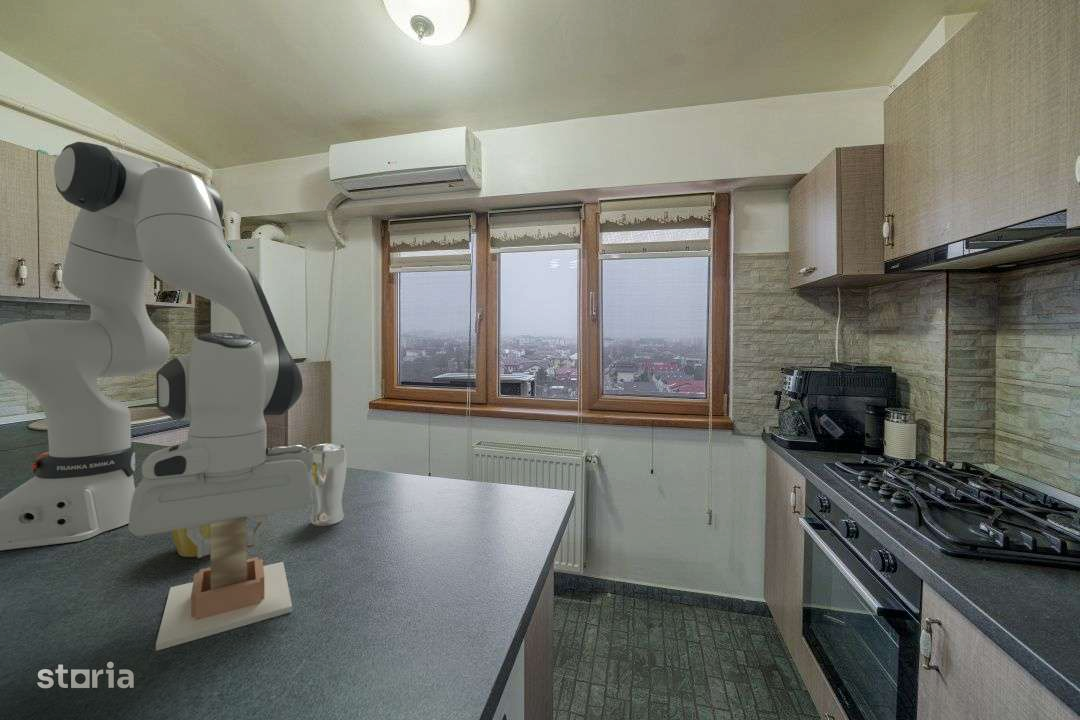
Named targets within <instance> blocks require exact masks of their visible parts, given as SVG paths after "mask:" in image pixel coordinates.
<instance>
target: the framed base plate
mask: <svg viewBox="0 0 1080 720" xmlns="http://www.w3.org/2000/svg"><path fill="white" fill-rule="evenodd" d="M285 569H286V568H285V564H284V561H280V562H276V563H271V564H266V565H264V560H263V558H260V559H259V556H257V557H251V558H247V582H242V583H238V584H234V585H230V586H226V587H222V588H217V589H213V590H211V566H210V567H205V568H200V569H199V571H198V573H194V576H193V581H192V582H187V583H183V584H178V585H176V586H171V587H170V588H169V591H168V596H167V598H166V599H167V600H166V603H165V607H164V612H163V615H162V619H161V622H160V623H161V624H160V626H159V631H158V634H157V638H156V643H155V651H161V650H164V649H167V648H170V647H171V648H172V647H174V646H178V645H182V644H185V643H188V642H192V641H195V640H200V639H203V638H205V637H206V638H207V637H210V636H213V635H216V634H219V633H222V632H224V633H225V632H227V631H231V630H233V629H236V628H242V627H245V626H247V625H251V624H255V623H259V622H261V621H265V620H268V619H272V618H275V617H279V616H282V615H286V614H289V613H293V604H292V600H291V594H290V589H289V584H288V579H287V573H286V570H285Z"/></svg>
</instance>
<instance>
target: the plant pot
mask: <svg viewBox="0 0 1080 720" xmlns="http://www.w3.org/2000/svg"><path fill="white" fill-rule="evenodd" d="M171 533H172V537H173V541H174V544H175V547H176V551H177V554H178V555H180V557H183V558H198V547H197V546H196V545H195V544H194V543H193V542H192V541H191V540H190V539H189V538H188V536H187V528H184V529H178V530H172V531H171ZM200 535H201V536H202V537H203V538H204V540H205V539H210V524H207V525H201V530H200Z"/></svg>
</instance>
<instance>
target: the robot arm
mask: <svg viewBox="0 0 1080 720" xmlns="http://www.w3.org/2000/svg"><path fill="white" fill-rule="evenodd" d="M53 177H54V180H55V187H56V189H57V190H56V191H57V192H59V194H60V195H61V196H62V198H63V199H64V200H65V201H66V202H67V203H70V204H71V205H73V206H76V207H78V208H80V209H79V212H78V213H77V216H76V217H75V218H76V219H75V221H74V223H73V227H72V230H71V232H70V233H71V234H70V237H69V241H68V247H67V249H66V250H67V251H66V255H65V260H64V264H63V270H62V274H61V281H62V284H63V285H64V287H65V289H66V291H68V292H69V294H71V295H72V296H73V297H75V298H77V299H79V300H81V301H83V302H84V303H86V304H88V305H89V308H90V317H89V319H88V320H82V319H81V320H79V319H53V318H51V319H50V318H41V319H40V318H39V319H29V320H22V321H20V320H19V321H14V322H7V323H4V324H2V325H0V374H1V375H2V376H4V377H6V378H8V379H10V380H12V381H14V382H15V383H18V384H19V385H21V386H23V387H24V388H25V389H26V390H28V391H29V393H30V394H32V395H33V396H34V397H35V399H36V400H37V401H38V403H39V404H40V406H41V407H42V411H43V412H44V416H45V420H46V427H47V428H46V430H47V439H48V451H46V452H43V453H40V454H39V455H37V457H36V459H35V460H34V461H33V462H32V464H31V468H30V469H31V472H32V473H33V475H34V476H33V477H32V478H30V479H28V480H27V481H25V482H24V483H22V484H21V485H19V486H18V487H16V488H15V489H13V490H12V491H10V492H8V493H7V494H5V495H4V496H3V497H1V498H0V551H7V550H14V549H24V548H33V547H40V546H48V545H57V544H66V543H73V542H80V541H85V540H88V539H91V538H93V537H95V536H97V535H99V534H102V533H105V532H107V531H110V530H113V529H117V528H120V527H122V526H125V525H127V524H128V531H129V532H130V533H132V534H133V535H134V536H137V537H143V536H147V535H154V534H159V533H166V532H172V530H178V529H184V528H187V536H188V538H189V539H190V540H191V541H192V542H193V543H194V544H195V545H196V546H197V547H198V557H197V559H200V558H204V557H209V556H211V542H210V539H205V540H204V538H203V537H202V536H201V535H200V530H201V525H207V524H210V523H214V522H220V521H225V520H231V519H237V518H243V517H247V519H248V518H252V517H255V520H256V525H255V526H254V528H253V530H249V531H247V549H249V548H253V547H258V546H259V545H260V534H261V533H262V531H263V530H264V528H265V527H266V525H267V523H268V522H269V515H270V514H276V513H281V512H282V513H284V512H288V511H294V510H299V509H300V510H301V509H305V508H306V507H308V505H309V504H310V503H311V501H312V500H313V499H312V494H311V484H310V478H309V472H310V471H311V469H312V467H313V453H312V451H311V450H310V448H308V447H305V446H302V444H292V445H289V446H272V447H270V446H269V447H268V446H267V444H268V443H267V439H268V435H267V429H268V428H267V426H268V425H267V421H266V419H265V416H266V417H267V416H282V415H283V414H285V413H286V412H288V411H289V410H290V409H291V408H292V407H293V406H294V405H295V404H296V403H297V402H298V400H299V399H300V397H301V396H302V393H303V385H304V384H303V378H302V374H301V371H300V369H299V367H298V365H297V363H296V361H295V360H294V358H293V356H292V355H291V354H290V352H289V351H288V347H287V346H286V344H285V341H284V339H283V337H282V333H281V332H280V329H279V327H278V324H277V320H276V319H275V317H274V315H273V311H272V310H271V306H270V305H269V302H268V299H267V298H266V294H265V292H264V290H263V288H262V286H261V284H260V282H259V280H258V277H257V276H256V274H255V273H254V272H253V271H252V270H251V269H249V268H248V267H247V266H245V265H243V264H242V263H241V262H240V261H239V259H237V257H236V256H235V255H234V254H233V252H232V250H231V249H230V247H229V246H228V244H227V242H226V239H225V235H224V231H223V225H222V220H223V218H224V202H223V199H222V196H221V195H220V192H218V191H217V189H216V188H214V187H212V185H210V184H208V183H205V182H204V181H203V180H202V179H201V178H199V177H198V176H196V175H195V174H194V173H192V172H189V171H187V170H185V169H181V168H179V167H178V168H177V167H171V166H165V165H164V164H160V163H157V162H155V161H153V162H152V161H149V160H146V159H143V158H139V157H137V156H133V155H130V154H127V153H122V152H119V151H115V150H111V149H109V148H108V147H106V146H104V145H100V144H97V143H91V142H85V141H76V142H73V143H70V144H67V145H66V146H65V147H63V149H62V150H61V152H60V153H59V155H58V156H57V157H56V159H55V163H54V165H53ZM150 272H151V273H152V274H153V275H154V276H155V277H157V278H158V279H159V280H161V281H162V282H164V283H165V284H168V285H169V286H171V287H174V288H175V289H178V290H181V291H183V292H186V293H190V294H192V295H196V296H199V297H202V298H204V299H207V300H210V301H211V302H214V303H216V304H219V305H220V306H222V307H224V308H225V309H227V310H229V311H230V312H231V313H232V314H233V315H234V316H235V317H236V318H237V321H238V322H239V325H240V327H241V329H242V332H243V334H237V333H233V332H232V333H231V332H208V333H202V334H199V335H197V336H195V337H194V338H193V340H192V341H191V344H190V345H191V347H190V352H188V353H187V354H184V355H182V356H179V357H174V358H172V359H170V360H169V361H168V362H167V360H168V358H169V355H170V342H169V341H168V338H167V336H166V335H165V334H164V332H163V331H162V330H161V329H159V328H157V326H156V325H154V323H153V322H152V320H151V318H150V316H149V315H148V311H147V307H146V290H147V284H148V278H149V273H150ZM156 370H157V372H156V373H155V374H156V375H155V376H156V407H157V409H158V410H159V411H161V412H163V413H164V415H166V416H168V417H171V418H172V419H175V420H176V421H185V422H190V424H189V426H188V430H187V440H186V441H182V442H179V443H176V444H174V445H170V446H167V447H164V448H160V449H157V450H155V451H153V452H151V453H150V454H149V455H148V456H146V458H144V460H143V462H142V465H141V466H142V467H141V474H142V479H141V480H140V481H139V483H138V484H137V486H135V480H134V474H135V470H136V452H135V447H134V445H132V424H131V423H132V421H131V419H132V417H131V416H132V415H131V411H130V409H129V407H128V406H127V404H125V403H123V402H122V401H121V400H118V399H115V398H113V397H109V396H106V395H105V394H103V392H102V391H101V389H100V386H99V384H98V379H102V378H115V377H116V378H117V377H129V376H131V377H132V376H137V375H141V374H145V373H150V372H154V371H156Z"/></svg>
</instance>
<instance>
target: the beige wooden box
mask: <svg viewBox="0 0 1080 720" xmlns="http://www.w3.org/2000/svg"><path fill="white" fill-rule="evenodd" d="M247 527H248V518H247V517H243V518H237V519H231V520H225V521H220V522H214V523H210V542H211V555H210V567H211V590H213V589H217V588H222V587H226V586H230V585H234V584H238V583H242V582H247V559H248V548H247V532H248V529H247Z"/></svg>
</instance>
